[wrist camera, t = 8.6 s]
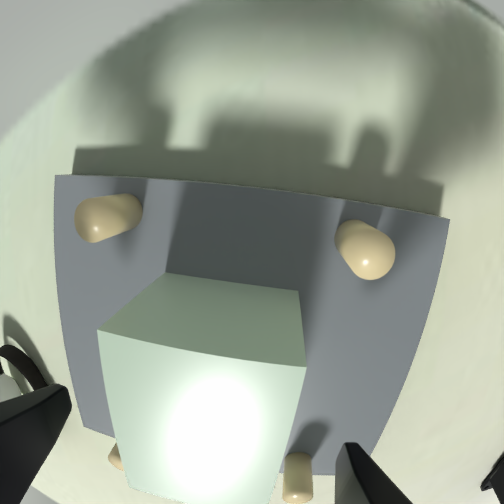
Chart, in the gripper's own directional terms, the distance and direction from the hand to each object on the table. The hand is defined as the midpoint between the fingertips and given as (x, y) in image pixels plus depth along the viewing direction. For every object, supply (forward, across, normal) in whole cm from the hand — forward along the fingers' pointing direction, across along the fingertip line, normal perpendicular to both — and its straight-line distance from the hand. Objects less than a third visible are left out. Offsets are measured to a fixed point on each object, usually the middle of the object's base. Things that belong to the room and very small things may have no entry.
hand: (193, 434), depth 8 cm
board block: (+4, 0, 0) cm, 4 cm away
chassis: (+6, 0, 0) cm, 6 cm away
